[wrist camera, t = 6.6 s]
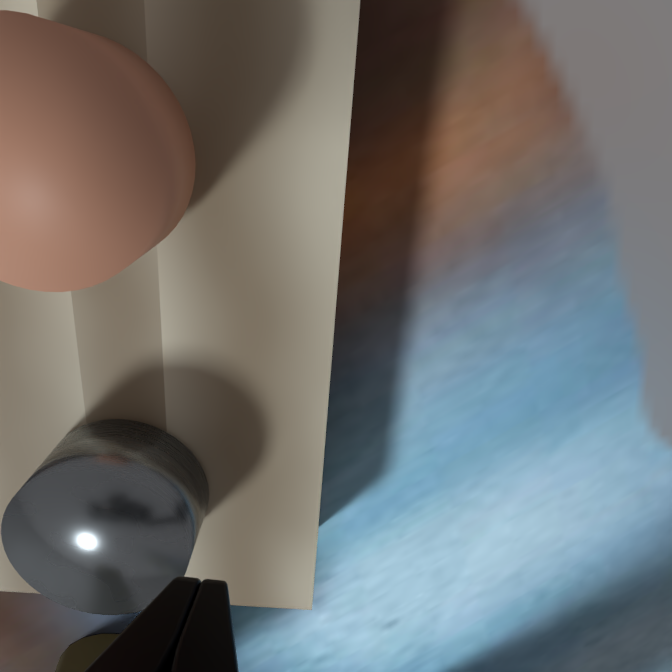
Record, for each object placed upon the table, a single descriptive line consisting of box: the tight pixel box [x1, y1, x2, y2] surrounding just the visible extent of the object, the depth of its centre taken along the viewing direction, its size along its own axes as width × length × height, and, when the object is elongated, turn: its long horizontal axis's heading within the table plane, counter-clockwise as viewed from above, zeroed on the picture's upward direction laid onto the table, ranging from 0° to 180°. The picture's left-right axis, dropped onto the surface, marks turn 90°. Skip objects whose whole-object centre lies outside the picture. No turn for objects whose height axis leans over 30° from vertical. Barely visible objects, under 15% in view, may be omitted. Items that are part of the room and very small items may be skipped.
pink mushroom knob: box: [0, 10, 196, 292], centre depth 13 cm, size 5×5×6 cm
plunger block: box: [0, 0, 360, 610], centre depth 17 cm, size 12×20×4 cm, turn 176°
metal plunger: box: [1, 419, 209, 615], centre depth 18 cm, size 5×5×6 cm
